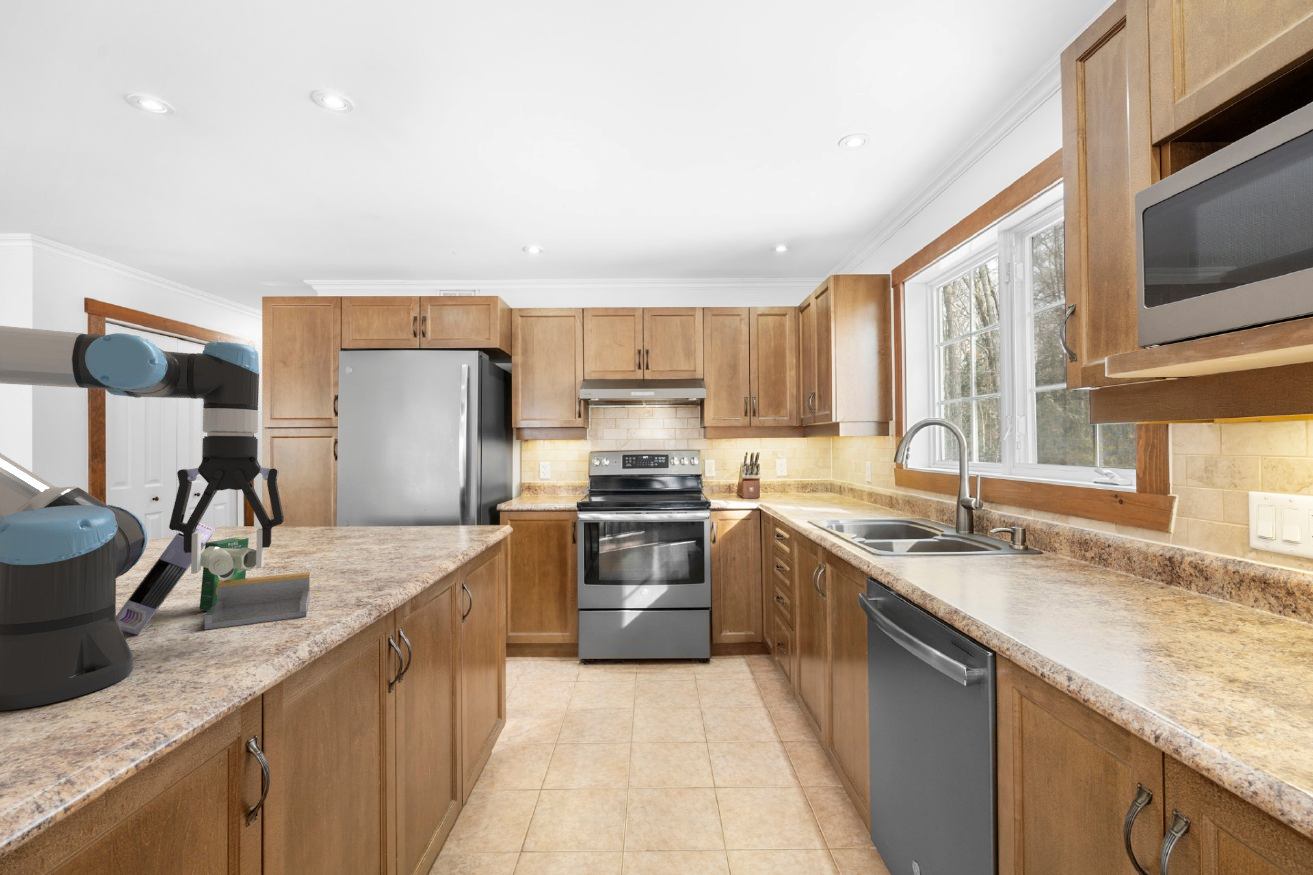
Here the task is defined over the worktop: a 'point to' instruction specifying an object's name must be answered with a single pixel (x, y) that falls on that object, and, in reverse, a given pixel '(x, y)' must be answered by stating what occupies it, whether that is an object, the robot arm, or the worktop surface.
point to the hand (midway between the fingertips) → (228, 569)
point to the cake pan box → (158, 583)
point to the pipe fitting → (227, 559)
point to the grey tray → (259, 600)
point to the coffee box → (211, 580)
